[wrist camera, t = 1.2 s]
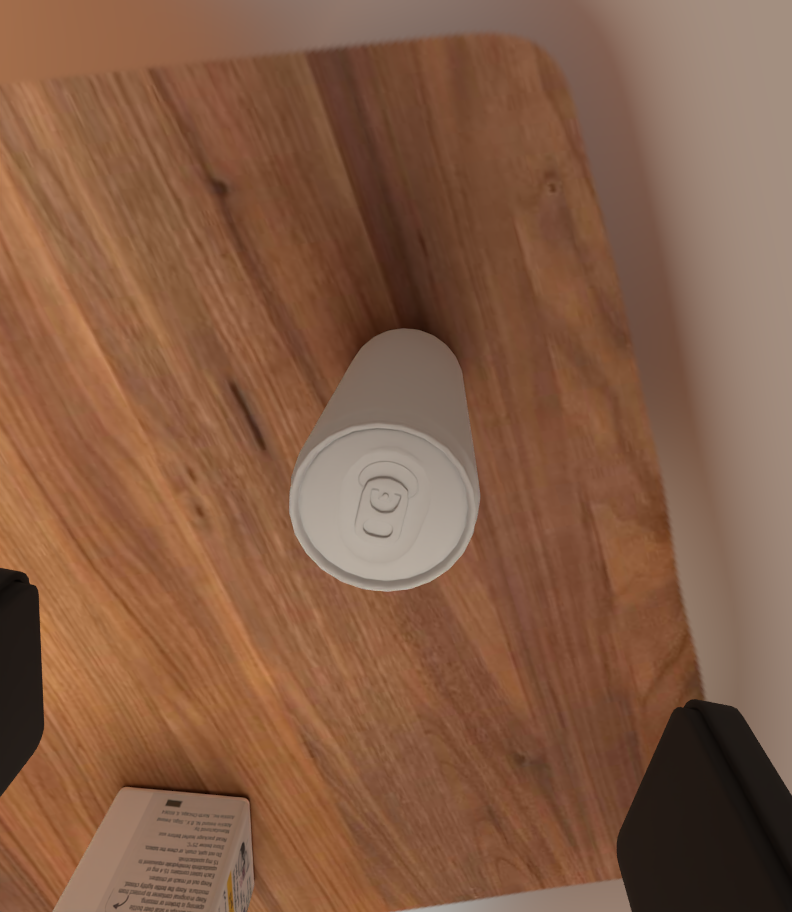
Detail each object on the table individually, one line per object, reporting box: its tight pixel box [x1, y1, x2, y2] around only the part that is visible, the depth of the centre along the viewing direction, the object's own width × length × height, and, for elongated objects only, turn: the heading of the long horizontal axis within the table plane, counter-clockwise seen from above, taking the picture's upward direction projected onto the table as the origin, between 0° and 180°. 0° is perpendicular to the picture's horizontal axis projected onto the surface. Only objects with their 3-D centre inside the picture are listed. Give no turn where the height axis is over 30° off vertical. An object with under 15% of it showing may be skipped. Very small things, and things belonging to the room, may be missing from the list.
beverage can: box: [289, 328, 480, 592], centre depth 20 cm, size 5×5×12 cm
